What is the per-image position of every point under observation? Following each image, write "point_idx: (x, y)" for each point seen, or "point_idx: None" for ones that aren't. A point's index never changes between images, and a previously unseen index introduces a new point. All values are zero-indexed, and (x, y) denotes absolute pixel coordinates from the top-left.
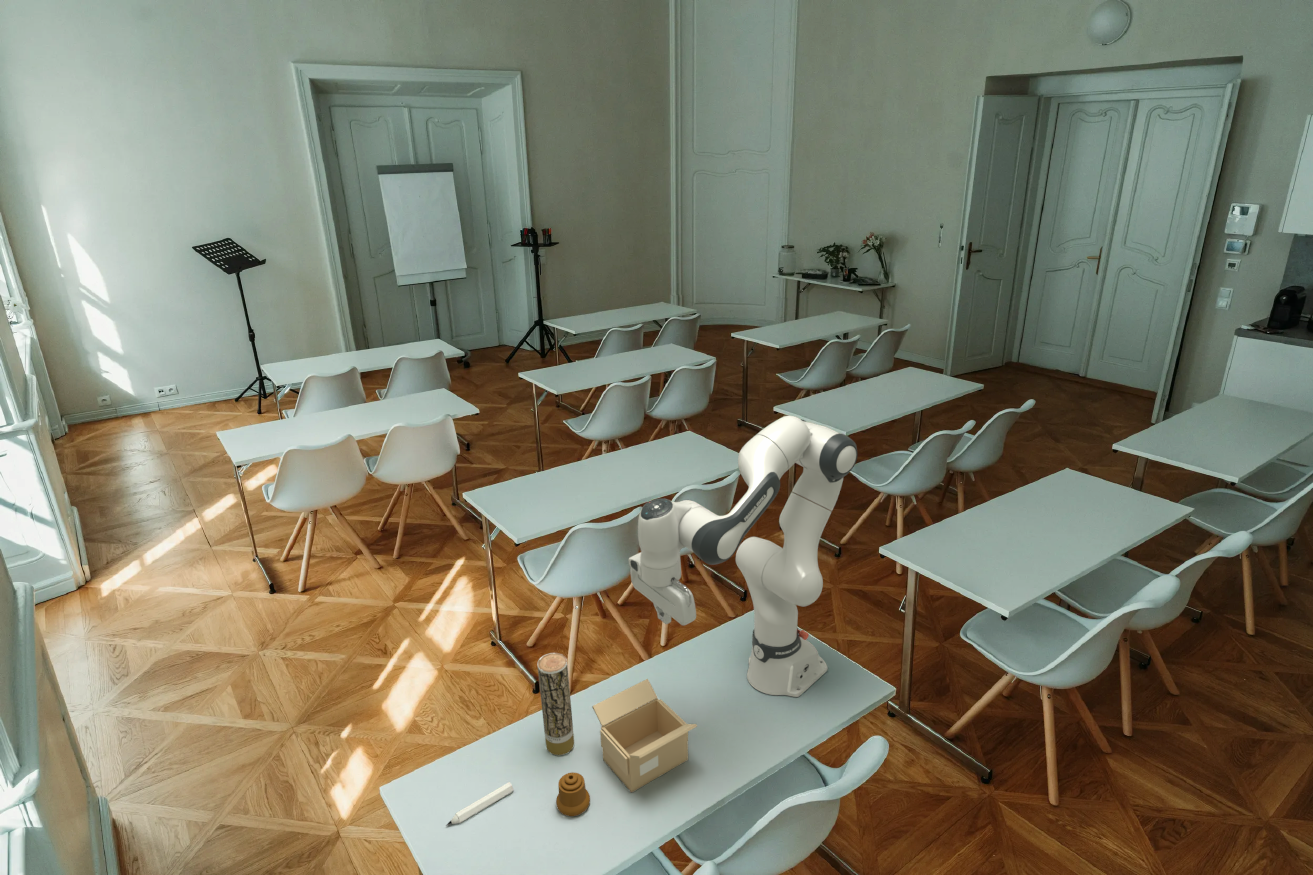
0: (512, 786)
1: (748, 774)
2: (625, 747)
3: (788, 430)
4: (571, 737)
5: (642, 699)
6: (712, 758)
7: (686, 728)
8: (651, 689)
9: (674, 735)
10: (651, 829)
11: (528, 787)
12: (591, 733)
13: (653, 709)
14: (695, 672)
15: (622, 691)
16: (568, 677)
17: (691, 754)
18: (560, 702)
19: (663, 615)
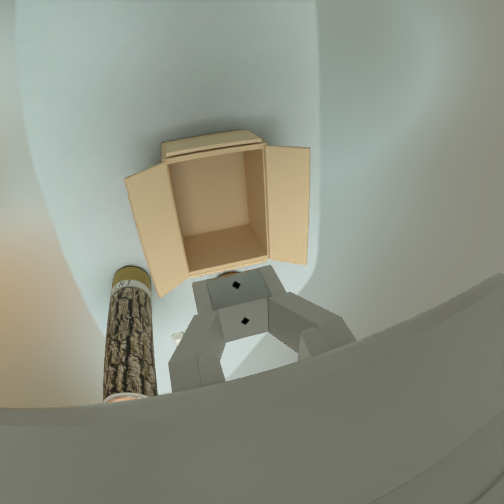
0: (181, 337)
1: (316, 71)
2: (177, 207)
3: None
4: (144, 283)
5: (163, 198)
6: (263, 95)
7: (301, 167)
8: (148, 173)
9: (303, 196)
10: (309, 223)
11: (182, 320)
12: (123, 239)
13: (168, 167)
14: (66, 28)
15: (143, 241)
16: (134, 363)
17: (238, 118)
18: (153, 350)
19: (255, 326)
